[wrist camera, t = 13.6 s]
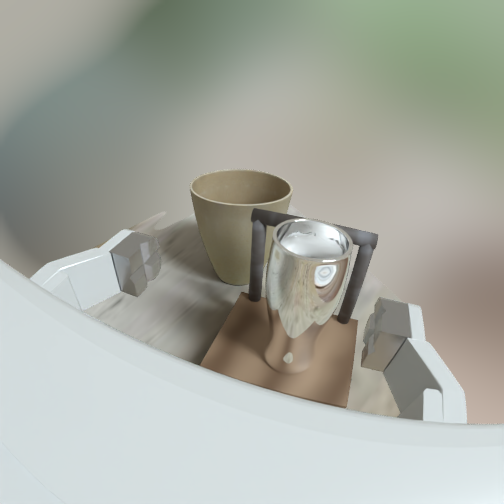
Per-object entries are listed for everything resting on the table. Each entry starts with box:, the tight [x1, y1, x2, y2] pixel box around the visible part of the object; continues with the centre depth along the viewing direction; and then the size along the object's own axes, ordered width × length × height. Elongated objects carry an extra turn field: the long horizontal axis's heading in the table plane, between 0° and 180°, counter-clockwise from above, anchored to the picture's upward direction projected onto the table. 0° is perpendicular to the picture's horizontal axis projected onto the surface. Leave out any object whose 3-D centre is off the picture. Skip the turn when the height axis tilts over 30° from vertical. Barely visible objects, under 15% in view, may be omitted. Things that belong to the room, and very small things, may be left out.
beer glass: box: [263, 218, 353, 374], centre depth 27 cm, size 7×7×15 cm
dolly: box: [200, 208, 378, 408], centre depth 30 cm, size 16×13×17 cm
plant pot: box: [190, 169, 293, 285], centre depth 46 cm, size 15×15×16 cm
